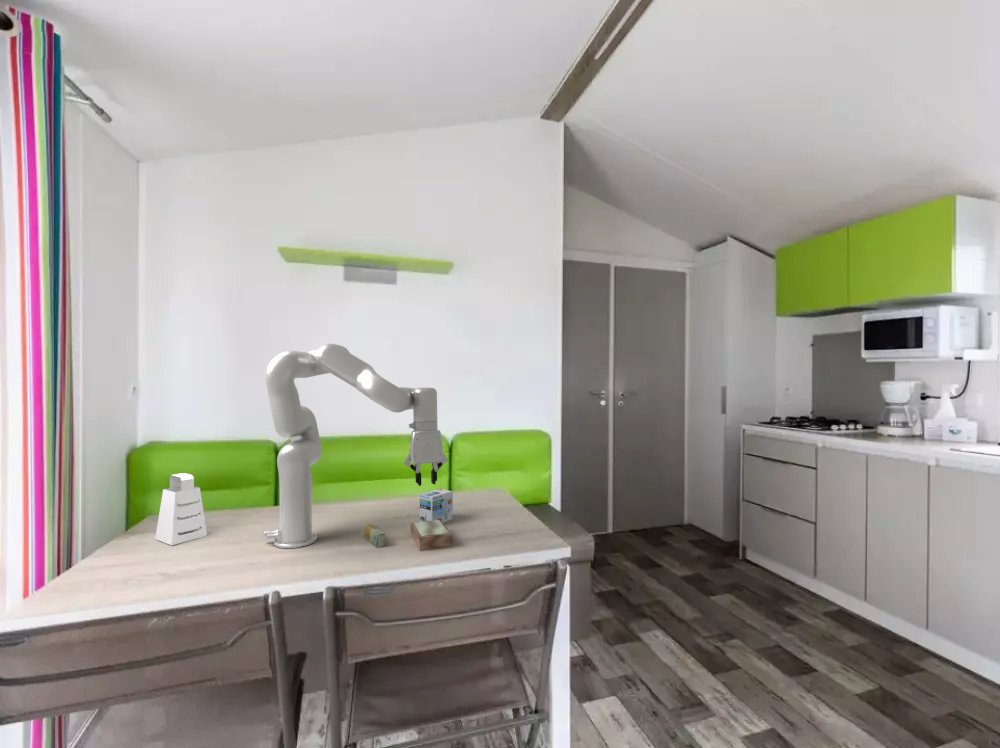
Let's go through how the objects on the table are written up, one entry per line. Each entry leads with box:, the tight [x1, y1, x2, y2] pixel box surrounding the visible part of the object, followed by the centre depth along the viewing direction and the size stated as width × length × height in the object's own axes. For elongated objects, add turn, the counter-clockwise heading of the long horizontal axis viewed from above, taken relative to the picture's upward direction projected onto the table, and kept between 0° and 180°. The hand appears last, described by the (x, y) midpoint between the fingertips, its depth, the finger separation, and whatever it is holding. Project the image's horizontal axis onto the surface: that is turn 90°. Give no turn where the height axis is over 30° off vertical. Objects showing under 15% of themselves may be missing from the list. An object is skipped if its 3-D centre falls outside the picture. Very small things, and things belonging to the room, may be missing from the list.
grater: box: [154, 472, 208, 546], centre depth 154 cm, size 10×10×20 cm
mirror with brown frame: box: [410, 520, 453, 552], centre depth 152 cm, size 10×15×4 cm, turn 21°
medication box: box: [362, 523, 387, 549], centre depth 151 cm, size 12×3×4 cm, turn 36°
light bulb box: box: [419, 488, 454, 523], centre depth 171 cm, size 11×7×11 cm, turn 143°
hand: (426, 483), depth 152 cm, fingers open, 3 cm apart
